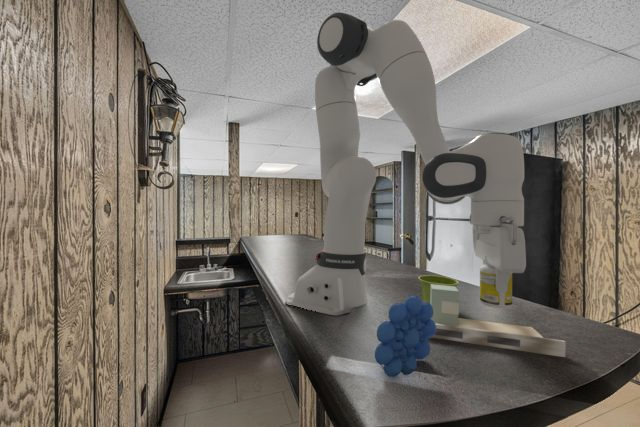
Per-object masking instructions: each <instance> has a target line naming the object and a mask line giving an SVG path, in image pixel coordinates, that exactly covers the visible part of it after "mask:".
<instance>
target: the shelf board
mask: <svg viewBox="0 0 640 427" xmlns="http://www.w3.org/2000/svg"><path fill="white" fill-rule="evenodd" d="M435 324H436V323H435ZM431 339H439V340H445V341H454V342H459V343H467V344H471V345H472V344H473V345H479V346H485V347H486V346H487V347H492V348H494V347H495V348H499V349H508V350H512V351H513V350H514V351H519V352H520V351H521V352H527V353H533V354H541V355H548V356H552V357H553V356H555V357H561V358H566V349H567V348H566V347H567V345H566V344H567V343H566V342H567V341H565V340H563V339H562V340H561V339H556V338H548V337H547V338H546V337H543V335H542V334H540V332H538V331H537V330H536V329H535V328H533V327H532V326H524V325H519V324H518V325H516V324H509V323H501V322H494V321H493V322H492V321H483V320H476V319H468V318H460V317H458V326H451V325H444V324H436V333H435V335H434V336H433V337H431Z"/></svg>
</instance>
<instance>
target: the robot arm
mask: <svg viewBox="0 0 640 427" xmlns="http://www.w3.org/2000/svg"><path fill="white" fill-rule="evenodd" d="M316 44H317V51H318V52H319V53H318V54H320V56H321V58H322V59H324V61H326V62H327V63H328V64H329V66H327V67H325V68H323V69H321V70H320V71H319V72H318V73H317V75H316V77H315V81H314V82H315V83H314V103H315V106H314V107H315V114H316V122H317V130H318V131H317V132H318V137H319V152H320V153H319V154H320V155H319V156H320V159H319V160H320V176H321V177H320V178H321V188H322V192H323V193H324V196H326V197H327V199H328V200H327V207H326V214H325V218H324V219H325V220H324V224H323V227H324V228H323V250H321V251H319V253H317V254H316V255H315V258H314V260H316V264H315V265H314V266H312V267H311V268H310V269H309V270H307V271H306V272H305V273H304V274H302V275H301V276H299V278H298V279H297V281H296V284H295V287H294V292H291V293H290V294H289V295H288V296H287V297H286V299H285V304H286V303H288V304H291V305H294V306H297V307H301V308H300V309H302V308H304V309H303V310H306V309H307V311H311V310H312V311H311V312H315V311H316V313H321V314H325V315H329V316H337V317H338V316H341V315H344V314H350V313H351V312H352V310H353V308H357V307H362V306H364V305H366V304H368V302H369V300H368V299H369V298H368V294H367V288H366V279H365V278H366V277H365V275H366V272H367V257H366V256H367V254H366V252H365V240H366V238H365V236H366V235H365V234H366V222H367V215H368V211H369V206H370V201H371V195H372V191H373V189H374V186H375V184H376V182H377V172H376V171H377V170H376V169H375V167H374V165H373V163H372V162H371V161H370V160H368V159H367V158H365V157H363V156H359V145H360V139H361V131H360V130H361V129H360V123H359V116H358V105H357V100H356V87H357V86H358V87H364V86H366V85H367V84H368V83H370V82H371V81H374V80H376V79H377V81H378V83H379V85H380V88H381V90H382V92H383V94H384V96H385V98H386V99H387V102H388V103H389V105H390V106H391V107H392V110H394V112H396V114H397V115H398V117H399V118H400V119H401V121H402V122H403V123H404V124H405V126H406V127H407V129H408V130H409V132H410V134H411V136H412V138H414V142H415V143H416V146H417V149H418V152H419V154H420V156H421V158H422V161H423V164H424V168H423V171H422V183H423V186H424V188H425V190H426V193H427V195H428V196H429V197H430V198H431V199H432V200H433V201H434V202H436V203H438V204H442V205H453V204H456V203H459V202H460V201H462V200H463V199H465V198H466V197H469V199H470V215H469V224H470V225H472V242H473V250H474V255H475V256H476V257H477V258H479V259H481V260H482V265H485V262H484V254H485V255H486V260H487V263H488V264H490V265H492V266H493V267H495V273H496V281H494V285H495V286H494V288H495V290H497V291H498V292H504V293H506V292H507V291H508V282H509V279H510V276H511V273H512V274H523V273H524V272H525V271H526V267H527V257H526V256H527V254H526V253H527V252H526V239H525V238H526V237H525V233H524V230H523V229H522V228H520V227H523V226H525V198H524V195H523V190H522V188H523V185H524V184H523V183H524V181H525V158H524V155H525V154H524V149H523V144H522V142H521V140H520V139H519V138H518V137H516V136H515V135H512V134H509V133H506V132H505V133H504V132H489V133H487V132H486V133H482V134H478V135H477V136H476V137H475V138H474V139H472V140H471V141H469V142H468V143H466V144H464V145H462V146H461V147H459V148H455V149H453V150H450V149H449V146H448V143H447V141H446V138H445V136H444V133H443V132H442V131H443V130H442V129H441V126H440V123H439V117H438V109H437V106H438V105H437V86H436V80H435V76H434V71H433V67H432V64H431V62H430V59H429V57H428V55H427V53H426V50H425V48H424V46H423V45H422V42H421V40H420V39H419V38H418V36H417V34H416V33H415V32H414V30H413V29H412V27H410V25H409V24H408V23H407V22H406V21H404V20H400V19H392V20H390V21H387V22H384V23H383V24H382V25H381V26H379V27H377V28H375V29H373V28H371V27H370V26H369V25H368V24H367V23H366V21H363V20H362V19H360V18H358V17H357V16H354V15H352V14H349V13H346V12H334V13H332V14H330V15H328V16H327V17H326V18H325V20H324V21H323V23H322V24H321V26H320V27H319V31H318V33H317V40H316ZM297 307H296V308H297Z"/></svg>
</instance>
